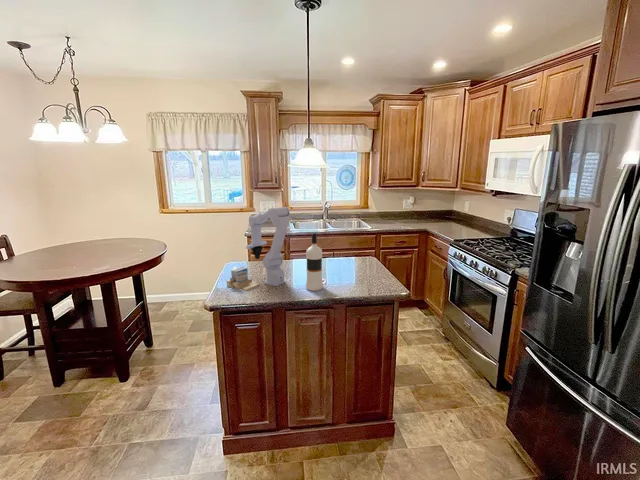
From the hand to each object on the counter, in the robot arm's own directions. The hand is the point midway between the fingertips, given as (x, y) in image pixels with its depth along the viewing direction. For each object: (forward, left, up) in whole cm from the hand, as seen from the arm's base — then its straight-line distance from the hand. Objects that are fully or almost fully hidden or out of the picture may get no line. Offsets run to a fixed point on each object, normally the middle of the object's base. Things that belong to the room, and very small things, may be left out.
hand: (257, 258), depth 190 cm
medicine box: (-2, +16, -11) cm, 20 cm away
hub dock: (-6, +17, -10) cm, 21 cm away
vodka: (-40, -2, -11) cm, 41 cm away
